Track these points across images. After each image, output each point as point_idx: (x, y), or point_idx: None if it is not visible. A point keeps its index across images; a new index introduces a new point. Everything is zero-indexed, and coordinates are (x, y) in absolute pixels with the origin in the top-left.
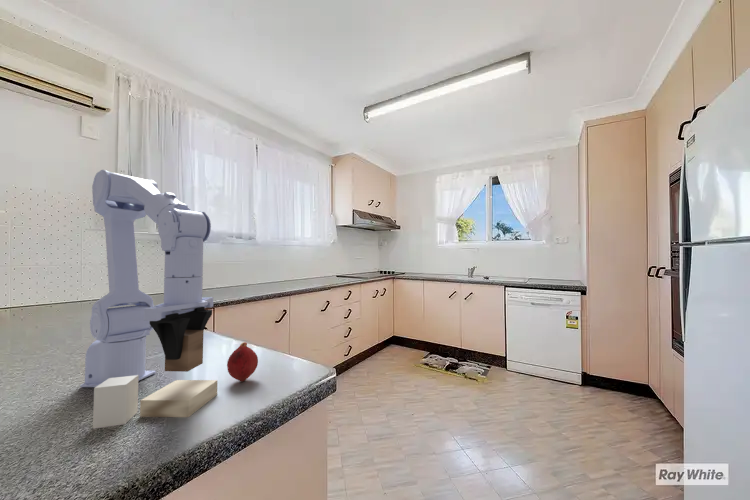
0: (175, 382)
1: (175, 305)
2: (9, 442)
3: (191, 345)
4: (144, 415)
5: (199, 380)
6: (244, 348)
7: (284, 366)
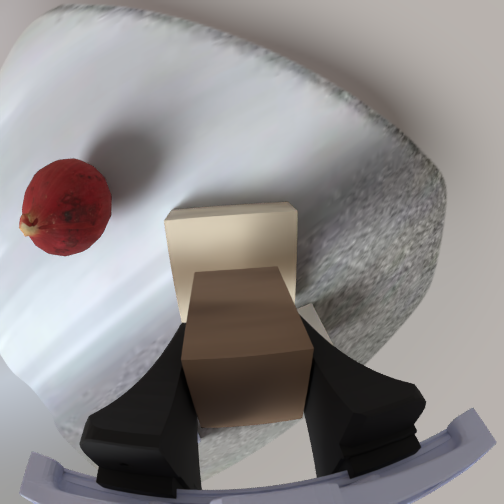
0: None
1: (441, 480)
2: None
3: (276, 316)
4: None
5: (173, 271)
6: (43, 208)
7: (4, 146)
